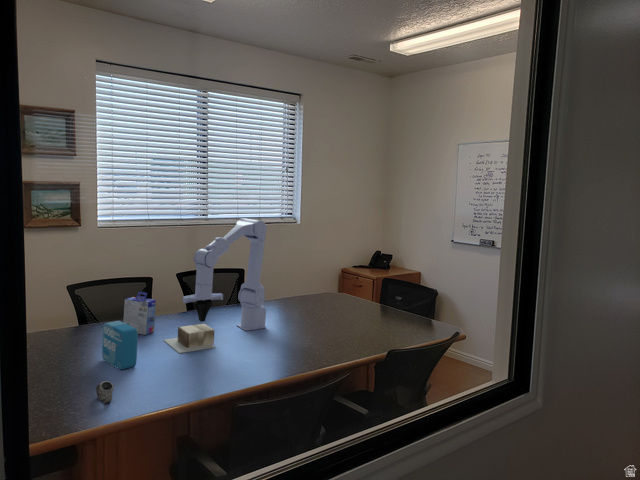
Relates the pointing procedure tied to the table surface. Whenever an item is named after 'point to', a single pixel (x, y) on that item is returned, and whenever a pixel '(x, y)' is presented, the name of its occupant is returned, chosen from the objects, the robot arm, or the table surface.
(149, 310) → the ink cartridge box
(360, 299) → the table surface
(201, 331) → the ash block
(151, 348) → the table surface
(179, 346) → the mat
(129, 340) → the data package
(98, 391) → the grey stone mug
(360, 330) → the table surface
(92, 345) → the table surface
